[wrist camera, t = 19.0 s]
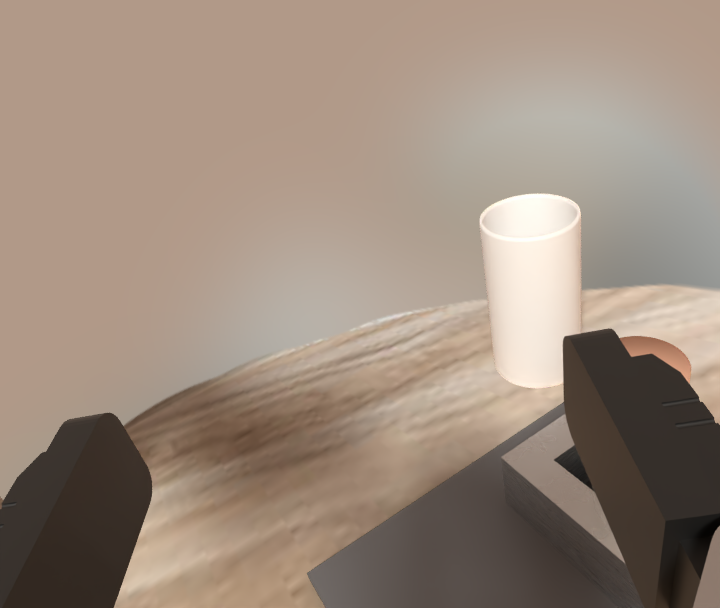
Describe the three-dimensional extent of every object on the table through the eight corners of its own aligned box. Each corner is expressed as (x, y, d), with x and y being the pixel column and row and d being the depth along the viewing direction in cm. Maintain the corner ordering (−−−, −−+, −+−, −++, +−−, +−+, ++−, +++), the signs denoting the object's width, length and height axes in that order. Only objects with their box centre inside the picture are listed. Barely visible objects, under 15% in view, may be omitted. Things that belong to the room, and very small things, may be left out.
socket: (505, 502, 44) (500, 457, 41) (616, 423, 48) (618, 377, 45) (646, 633, 35) (651, 585, 32) (769, 521, 39) (783, 471, 36)
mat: (310, 581, 43) (306, 573, 42) (581, 398, 52) (581, 390, 52) (454, 831, 30) (451, 824, 29) (783, 527, 39) (786, 518, 39)
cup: (565, 397, 53) (562, 243, 44) (481, 376, 57) (463, 233, 49) (592, 343, 58) (593, 195, 49) (512, 328, 63) (501, 190, 54)
